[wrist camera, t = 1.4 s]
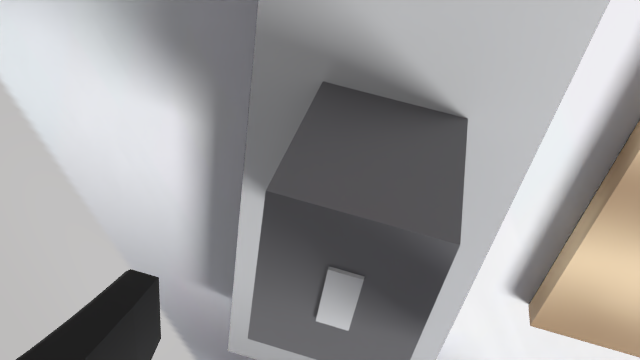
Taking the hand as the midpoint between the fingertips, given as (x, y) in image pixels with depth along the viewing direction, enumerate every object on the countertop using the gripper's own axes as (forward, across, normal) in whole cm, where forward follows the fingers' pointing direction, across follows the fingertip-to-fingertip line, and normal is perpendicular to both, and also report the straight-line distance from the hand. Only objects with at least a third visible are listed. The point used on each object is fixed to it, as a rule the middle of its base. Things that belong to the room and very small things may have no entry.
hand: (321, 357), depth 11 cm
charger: (+9, 0, 0) cm, 9 cm away
